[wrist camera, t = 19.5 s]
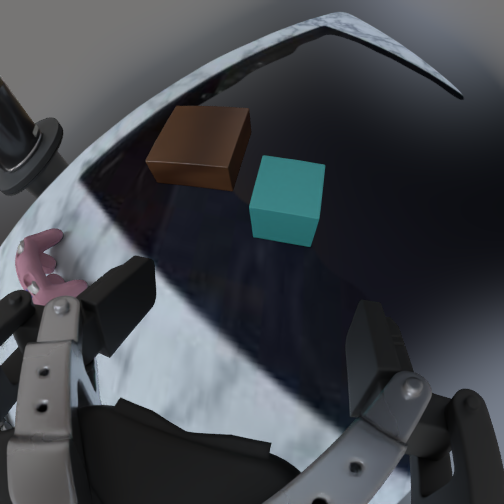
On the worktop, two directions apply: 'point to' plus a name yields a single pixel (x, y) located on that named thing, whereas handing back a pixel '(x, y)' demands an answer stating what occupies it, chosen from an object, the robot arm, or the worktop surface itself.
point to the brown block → (201, 147)
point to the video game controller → (43, 269)
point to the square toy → (287, 200)
